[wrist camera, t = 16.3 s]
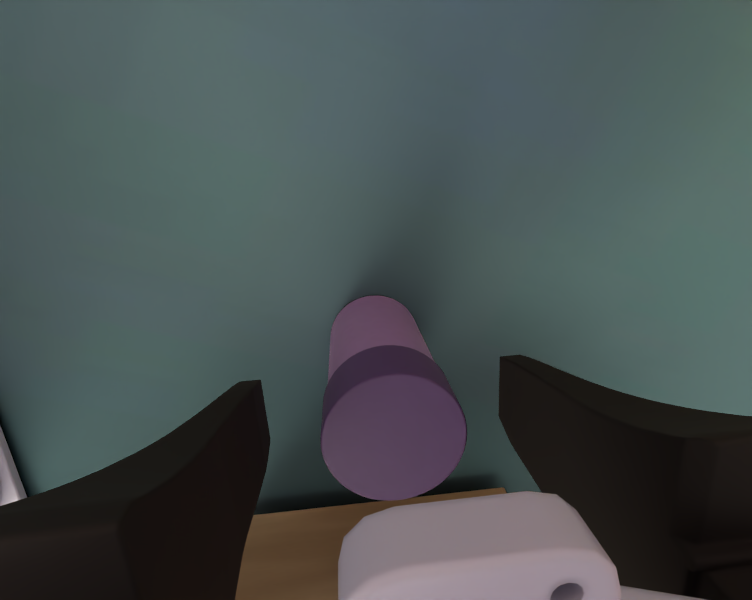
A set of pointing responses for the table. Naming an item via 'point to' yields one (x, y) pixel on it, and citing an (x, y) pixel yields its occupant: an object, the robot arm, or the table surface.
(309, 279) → the table surface
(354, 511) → the drawer
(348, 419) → the glue stick
